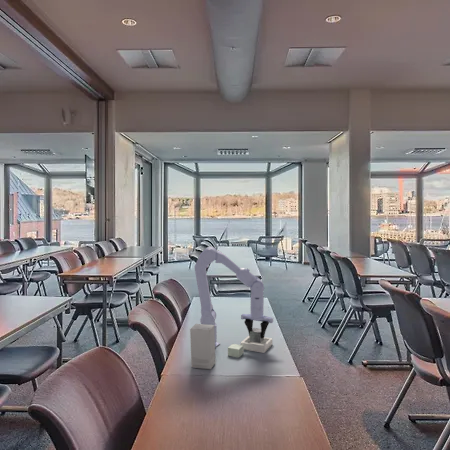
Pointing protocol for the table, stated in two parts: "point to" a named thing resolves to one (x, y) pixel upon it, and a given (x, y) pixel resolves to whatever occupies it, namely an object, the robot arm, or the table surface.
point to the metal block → (256, 335)
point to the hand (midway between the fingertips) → (256, 336)
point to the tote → (257, 345)
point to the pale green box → (235, 350)
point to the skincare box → (202, 346)
